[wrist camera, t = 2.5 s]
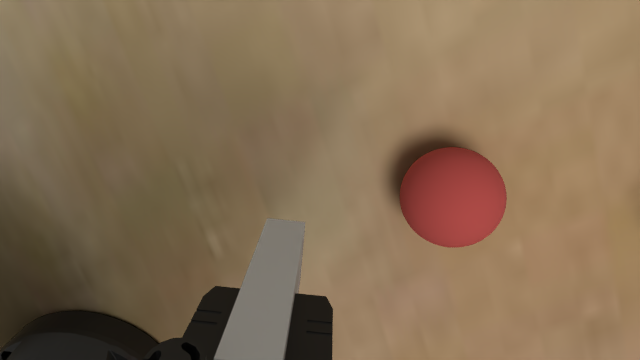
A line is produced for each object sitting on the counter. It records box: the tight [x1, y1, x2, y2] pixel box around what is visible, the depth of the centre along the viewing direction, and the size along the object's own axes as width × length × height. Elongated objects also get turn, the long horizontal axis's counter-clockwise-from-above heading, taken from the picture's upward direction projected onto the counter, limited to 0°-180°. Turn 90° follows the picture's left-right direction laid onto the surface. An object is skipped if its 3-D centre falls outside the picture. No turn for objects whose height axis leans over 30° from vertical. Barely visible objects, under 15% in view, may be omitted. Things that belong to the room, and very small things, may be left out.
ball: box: [400, 147, 507, 247], centre depth 22 cm, size 6×6×6 cm
